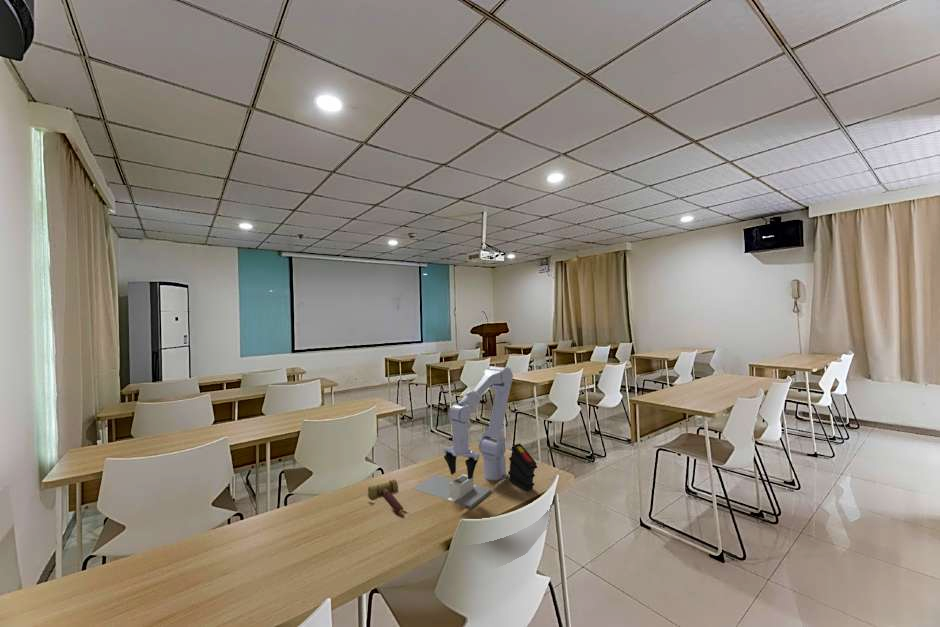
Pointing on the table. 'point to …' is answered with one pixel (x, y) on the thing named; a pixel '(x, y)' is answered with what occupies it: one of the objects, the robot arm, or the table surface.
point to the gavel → (387, 494)
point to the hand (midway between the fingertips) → (461, 475)
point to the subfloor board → (442, 489)
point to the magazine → (522, 468)
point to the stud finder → (461, 486)
